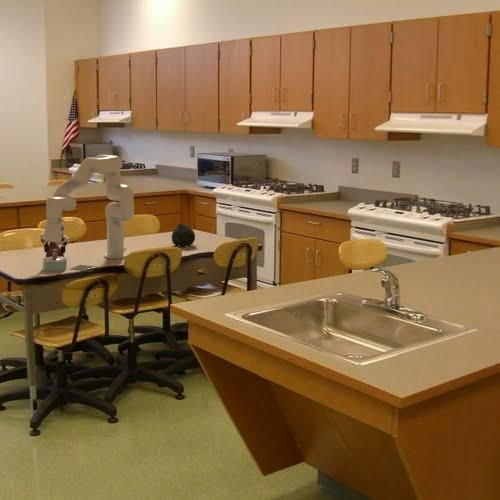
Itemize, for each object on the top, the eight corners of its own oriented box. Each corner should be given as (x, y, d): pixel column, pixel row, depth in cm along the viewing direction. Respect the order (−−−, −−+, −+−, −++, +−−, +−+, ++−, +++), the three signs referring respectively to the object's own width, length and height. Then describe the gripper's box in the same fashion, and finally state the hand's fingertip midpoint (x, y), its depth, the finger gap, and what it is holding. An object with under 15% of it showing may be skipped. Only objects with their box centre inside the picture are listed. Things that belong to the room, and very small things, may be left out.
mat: (80, 265, 397) (80, 264, 397) (100, 267, 393) (100, 266, 393) (68, 270, 385) (68, 269, 385) (89, 272, 382) (89, 271, 382)
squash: (202, 237, 462) (189, 218, 463) (191, 241, 448) (177, 222, 450) (188, 249, 468) (174, 231, 470) (176, 254, 455) (162, 235, 456)
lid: (51, 257, 392) (51, 246, 391) (71, 259, 388) (70, 248, 387) (38, 261, 380) (38, 250, 379) (58, 263, 377) (58, 252, 376)
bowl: (51, 266, 392) (51, 257, 391) (69, 268, 389) (69, 259, 388) (40, 270, 382) (40, 261, 381) (58, 272, 379) (58, 263, 378)
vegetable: (55, 270, 397) (52, 246, 390) (42, 265, 402) (38, 241, 395) (69, 263, 404) (66, 239, 397) (56, 258, 409) (53, 234, 402)
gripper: (72, 220, 381) (73, 252, 385) (43, 218, 386) (44, 250, 390) (65, 223, 374) (65, 255, 378) (35, 220, 379) (36, 252, 383)
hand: (54, 252), depth 384 cm, fingers open, 9 cm apart
